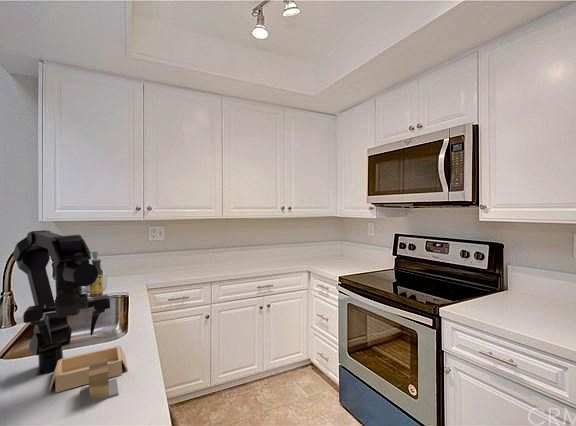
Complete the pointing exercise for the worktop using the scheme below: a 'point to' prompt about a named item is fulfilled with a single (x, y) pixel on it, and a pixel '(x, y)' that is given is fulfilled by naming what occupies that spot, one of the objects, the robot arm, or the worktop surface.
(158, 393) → the worktop surface
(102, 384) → the block
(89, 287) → the soap bottle
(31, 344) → the robot arm
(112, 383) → the mat
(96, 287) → the sauce bottle
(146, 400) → the worktop surface
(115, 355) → the carton
